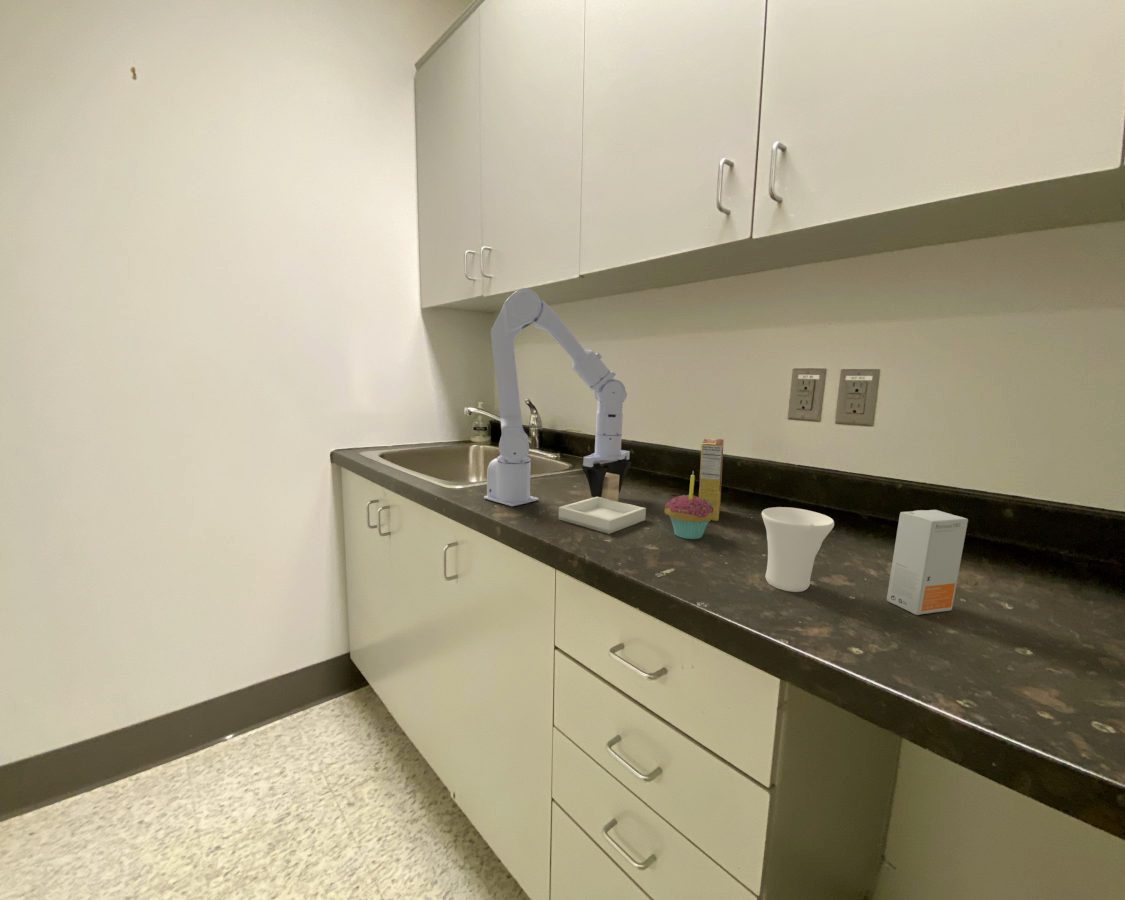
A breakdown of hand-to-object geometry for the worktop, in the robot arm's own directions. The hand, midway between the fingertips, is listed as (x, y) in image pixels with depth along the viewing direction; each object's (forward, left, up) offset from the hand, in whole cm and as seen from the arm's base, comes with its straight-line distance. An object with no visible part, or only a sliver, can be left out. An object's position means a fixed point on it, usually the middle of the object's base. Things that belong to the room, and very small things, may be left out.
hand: (605, 494), depth 107 cm
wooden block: (0, 0, -2) cm, 2 cm away
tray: (+8, -12, -1) cm, 14 cm away
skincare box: (+58, -12, -2) cm, 59 cm away
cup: (+44, -17, -2) cm, 47 cm away
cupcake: (+24, -8, -2) cm, 25 cm away
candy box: (+21, +7, -2) cm, 22 cm away
